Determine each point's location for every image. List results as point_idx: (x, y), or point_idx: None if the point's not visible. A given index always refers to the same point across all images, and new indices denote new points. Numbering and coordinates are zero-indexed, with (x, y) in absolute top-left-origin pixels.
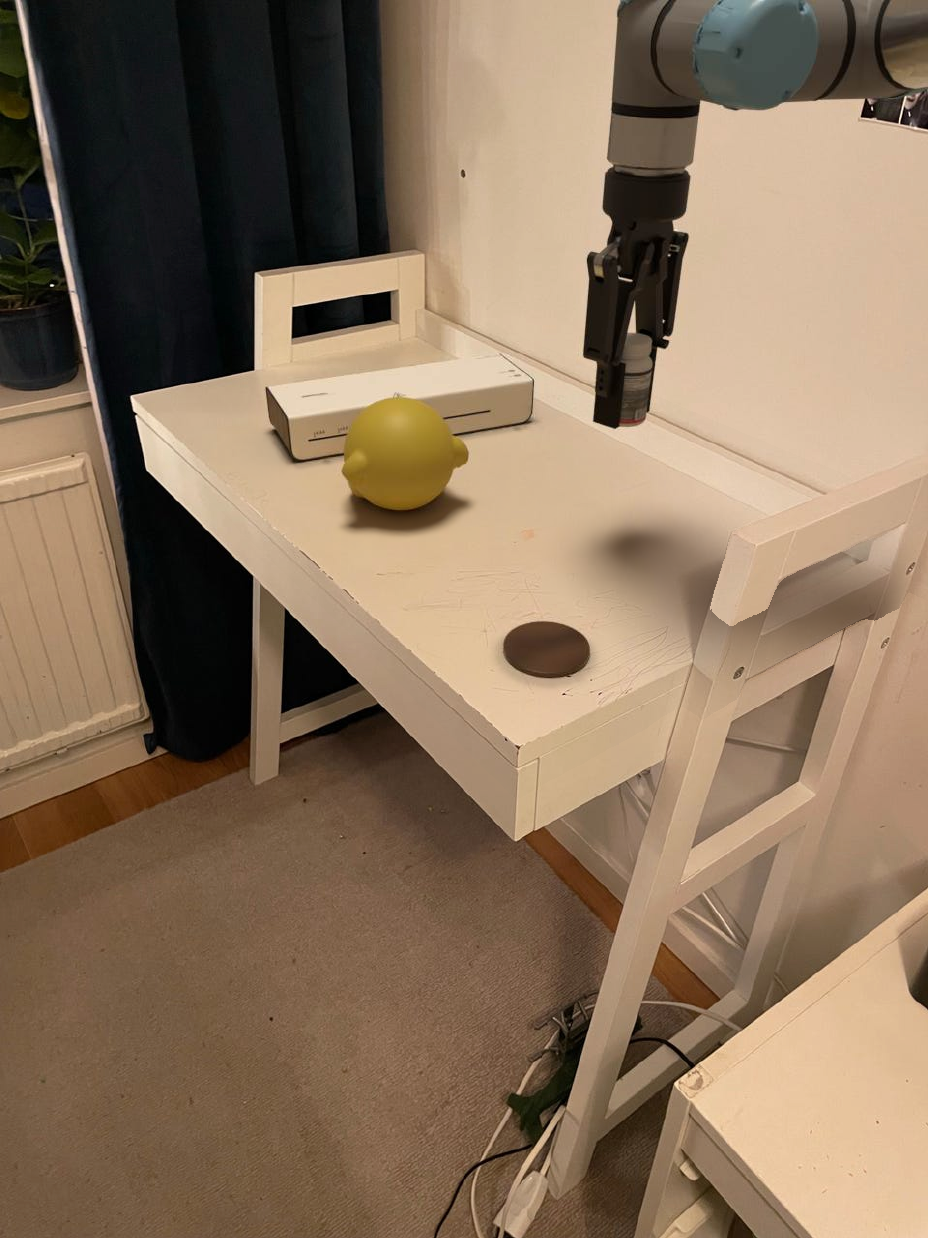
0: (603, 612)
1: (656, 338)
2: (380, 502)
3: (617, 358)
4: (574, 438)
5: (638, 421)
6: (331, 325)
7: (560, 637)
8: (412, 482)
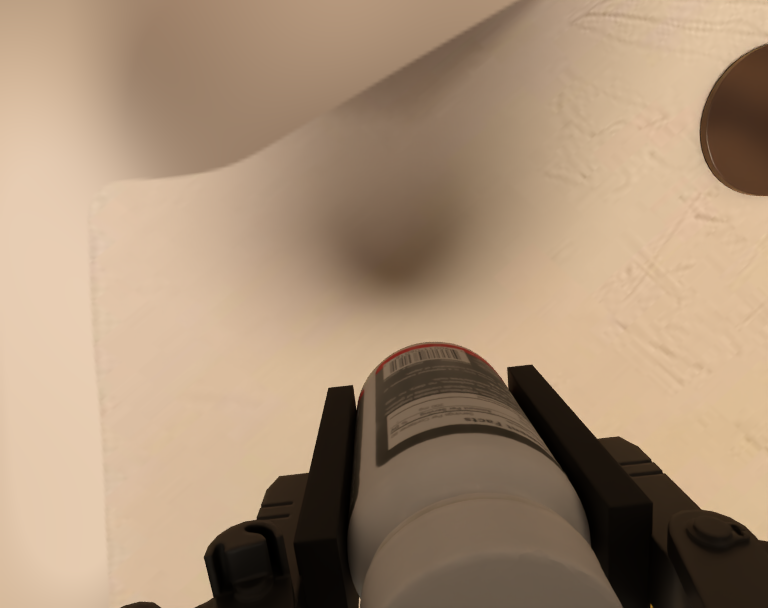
0: (614, 135)
1: (289, 605)
2: None
3: (728, 538)
4: (171, 593)
5: (445, 345)
6: None
7: (744, 121)
8: None
